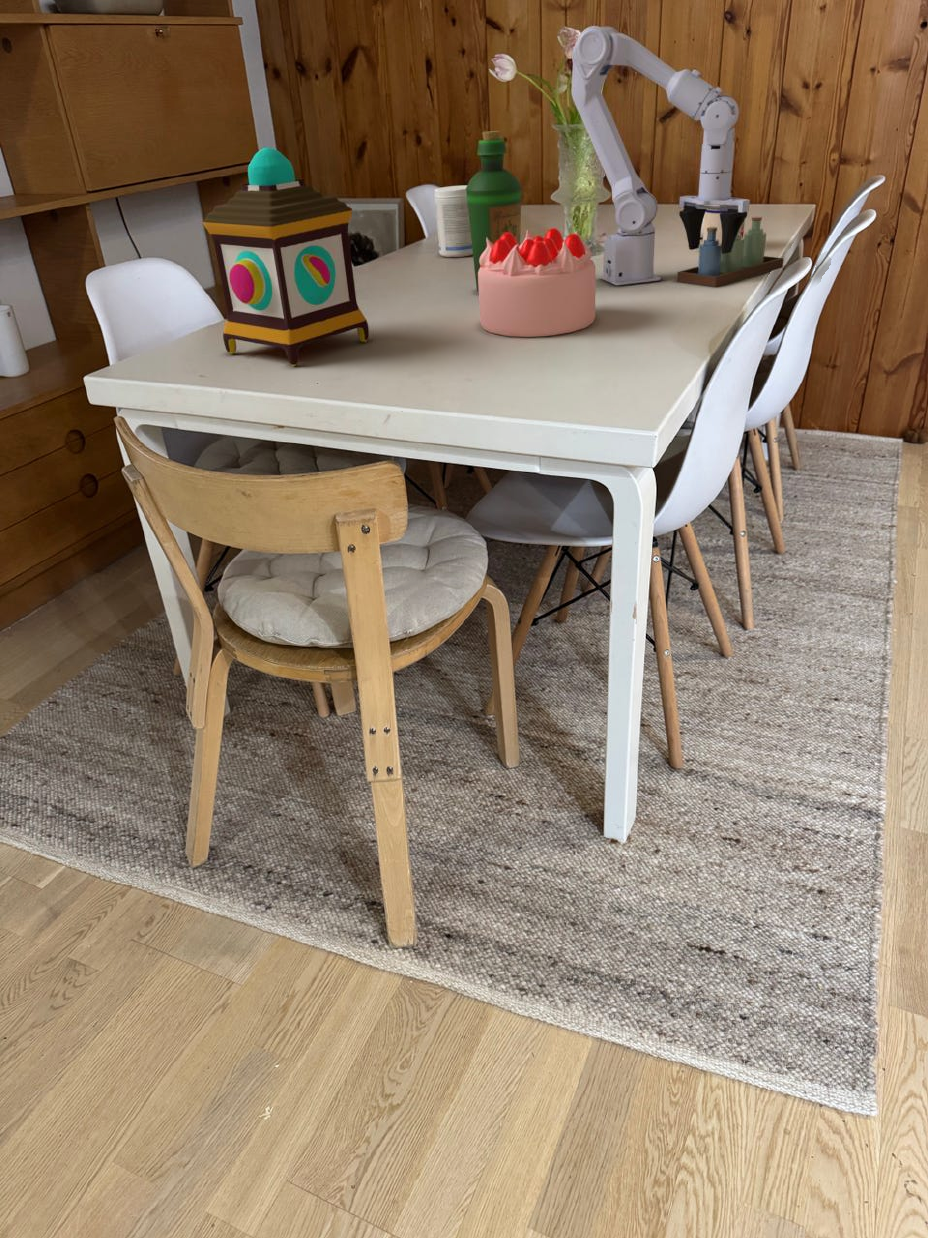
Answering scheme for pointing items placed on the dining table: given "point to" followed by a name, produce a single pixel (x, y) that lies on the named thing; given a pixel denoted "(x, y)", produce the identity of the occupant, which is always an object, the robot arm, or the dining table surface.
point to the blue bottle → (710, 254)
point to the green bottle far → (754, 244)
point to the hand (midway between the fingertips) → (709, 250)
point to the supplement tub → (453, 221)
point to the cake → (536, 285)
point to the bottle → (492, 198)
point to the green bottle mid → (733, 256)
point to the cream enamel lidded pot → (716, 223)
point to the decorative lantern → (284, 261)
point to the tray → (725, 278)
